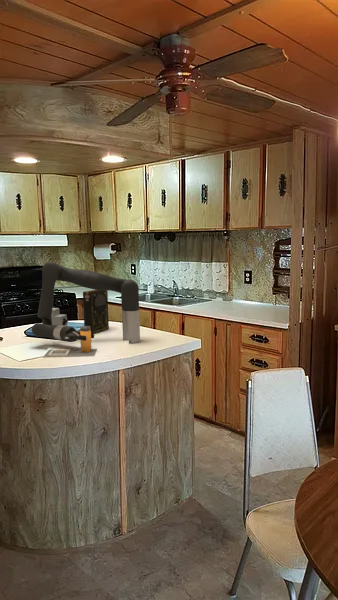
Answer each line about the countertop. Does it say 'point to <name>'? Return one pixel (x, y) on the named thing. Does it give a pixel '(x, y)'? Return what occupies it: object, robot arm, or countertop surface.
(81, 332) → the post
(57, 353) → the board
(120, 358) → the countertop surface
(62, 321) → the circuit breaker
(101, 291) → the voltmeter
